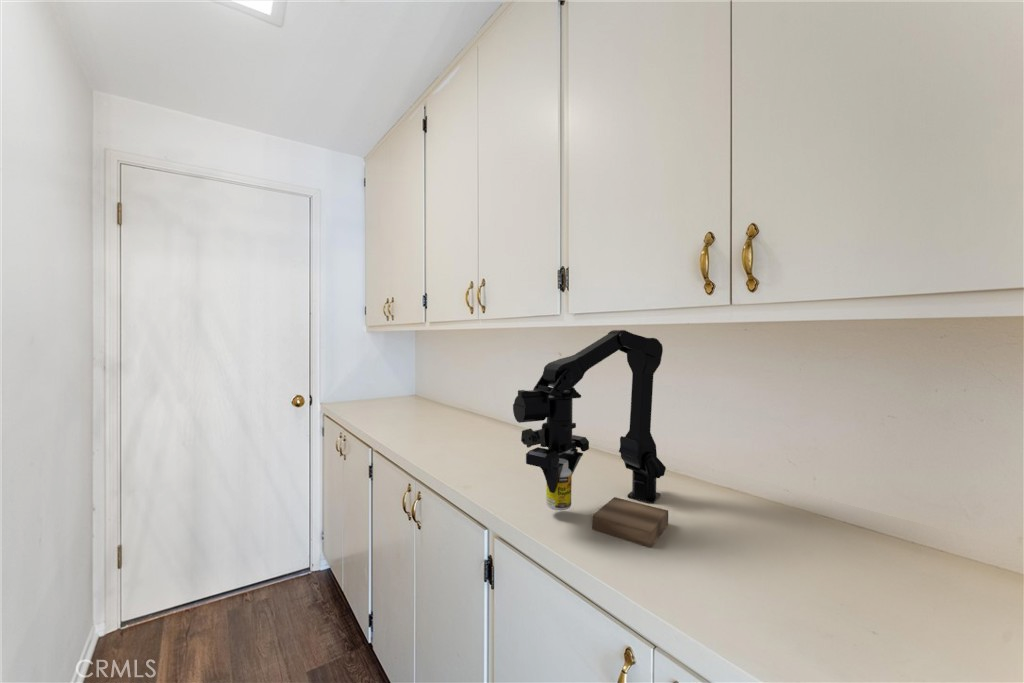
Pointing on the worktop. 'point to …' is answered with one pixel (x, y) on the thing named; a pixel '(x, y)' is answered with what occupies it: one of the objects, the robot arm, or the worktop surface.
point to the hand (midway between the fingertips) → (558, 488)
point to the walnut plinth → (630, 521)
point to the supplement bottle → (561, 490)
